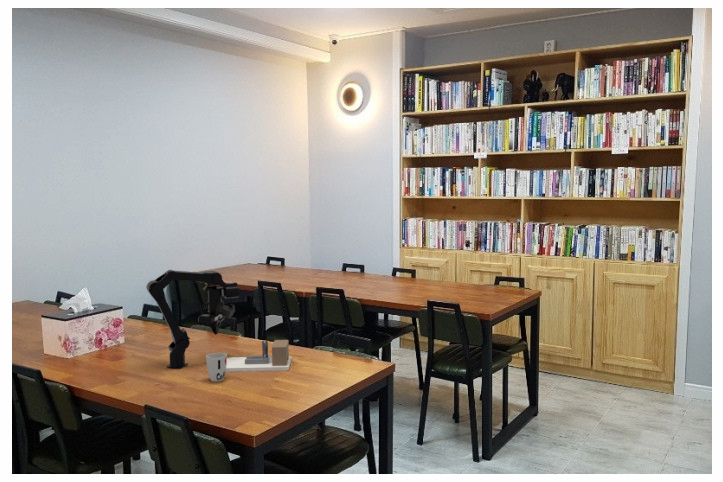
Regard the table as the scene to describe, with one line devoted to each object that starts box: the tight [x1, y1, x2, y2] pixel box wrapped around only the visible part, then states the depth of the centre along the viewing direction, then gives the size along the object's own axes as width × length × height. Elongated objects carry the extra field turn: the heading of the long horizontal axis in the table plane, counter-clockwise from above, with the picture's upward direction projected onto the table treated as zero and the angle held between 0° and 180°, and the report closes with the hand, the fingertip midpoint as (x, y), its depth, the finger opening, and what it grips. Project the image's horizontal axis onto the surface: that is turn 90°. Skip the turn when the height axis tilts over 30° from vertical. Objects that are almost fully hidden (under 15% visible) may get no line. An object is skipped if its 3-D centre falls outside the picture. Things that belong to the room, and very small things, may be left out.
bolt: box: [261, 340, 272, 362], centre depth 262 cm, size 10×3×9 cm, turn 92°
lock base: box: [225, 339, 292, 373], centre depth 262 cm, size 30×16×10 cm, turn 92°
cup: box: [205, 352, 228, 383], centre depth 243 cm, size 8×8×10 cm
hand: (215, 334), depth 269 cm, fingers closed
